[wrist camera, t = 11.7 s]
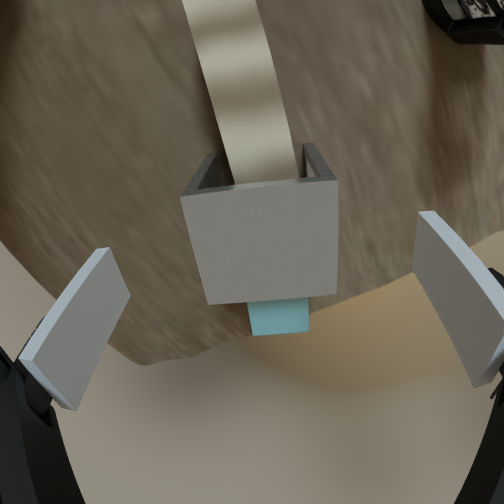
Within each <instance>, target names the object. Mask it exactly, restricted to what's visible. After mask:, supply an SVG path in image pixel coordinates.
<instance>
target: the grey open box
mask: <svg viewBox="0 0 504 504" xmlns="http://www.w3.org/2000/svg"><path fill="white" fill-rule="evenodd" d="M303 148H304V160H305V174H306V178H296V179H285V180H275V181H265V182H255V183H246V184H238V185H229V186H223V184H222V178H221V172H220V167H219V161H218V155H217V153H214V154H208V155H207V156H206V158H205V159H204V161H203V162H202V164H201V165H200V167H199V168H198V170H197V171H196V173H195V174H194V176H193V177H192V179H191V180H190V182H189V183H188V185H187V187H186V188H185V190H184V191H183V193H182V194H181V196H180V200H181V204H182V208H183V212H184V216H185V220H186V224H187V228H188V232H189V236H190V240H191V244H192V247H193V251H194V255H195V259H196V262H197V266H198V270H199V273H200V277H201V281H202V284H203V288H204V291H205V295H206V298H207V302H208V305H211V304H227V303H242V302H255V301H268V300H280V299H292V298H303V297H313V296H323V295H333V294H337V274H338V180H337V178H336V177H335V175H334V173H333V172H332V170H331V169H330V167H329V166H328V164H327V163H326V162H325V160H324V159H323V157H322V156H321V154H320V153H319V151H318V150H317V148H316V147H315V146H314V144H313V143H305V144H303Z"/></svg>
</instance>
